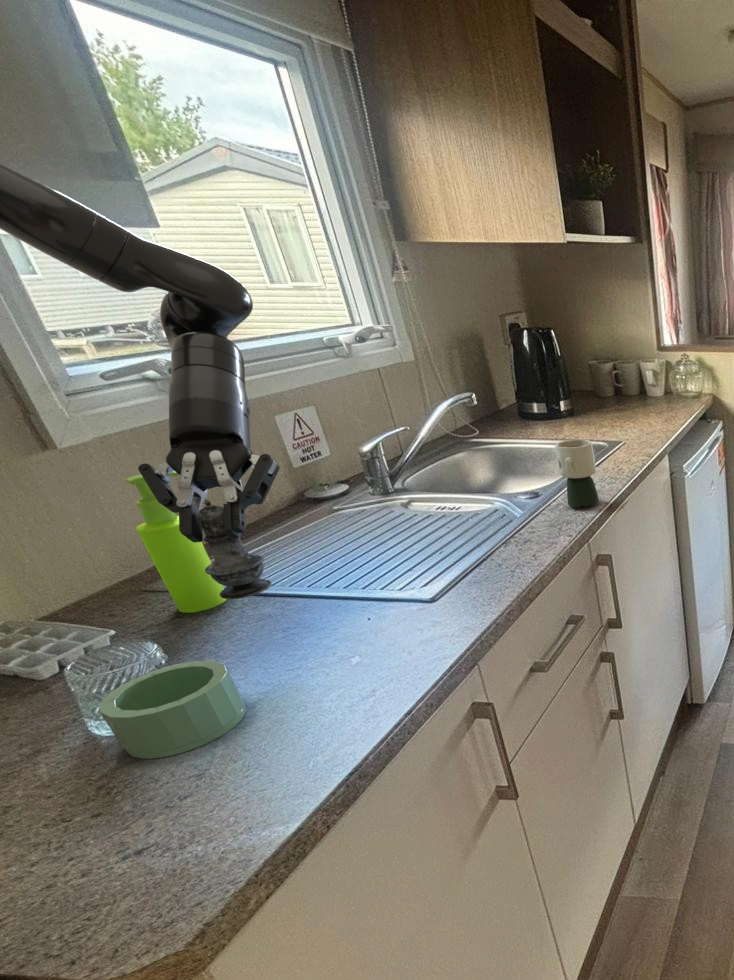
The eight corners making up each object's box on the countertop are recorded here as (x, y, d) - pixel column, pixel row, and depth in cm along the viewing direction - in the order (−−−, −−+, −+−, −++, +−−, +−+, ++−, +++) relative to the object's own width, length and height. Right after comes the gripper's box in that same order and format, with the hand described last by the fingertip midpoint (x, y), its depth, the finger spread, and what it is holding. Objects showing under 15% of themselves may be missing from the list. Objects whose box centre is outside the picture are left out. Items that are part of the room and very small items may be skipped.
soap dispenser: (242, 597, 101) (184, 471, 92) (188, 616, 96) (120, 484, 87) (225, 588, 104) (166, 465, 95) (171, 607, 99) (103, 478, 89)
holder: (105, 769, 67) (77, 727, 65) (152, 711, 76) (129, 671, 73) (227, 744, 71) (204, 703, 68) (259, 691, 79) (240, 653, 77)
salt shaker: (204, 597, 82) (160, 505, 76) (250, 577, 87) (211, 490, 81) (242, 602, 80) (199, 510, 75) (285, 581, 85) (249, 493, 80)
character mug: (575, 496, 142) (564, 436, 136) (608, 496, 142) (598, 436, 136) (558, 514, 132) (546, 450, 126) (593, 514, 132) (583, 450, 126)
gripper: (118, 399, 77) (117, 532, 72) (261, 391, 81) (268, 516, 77) (160, 434, 84) (160, 558, 79) (289, 425, 88) (297, 541, 84)
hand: (213, 536), depth 78 cm, fingers closed on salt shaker, 3 cm apart
